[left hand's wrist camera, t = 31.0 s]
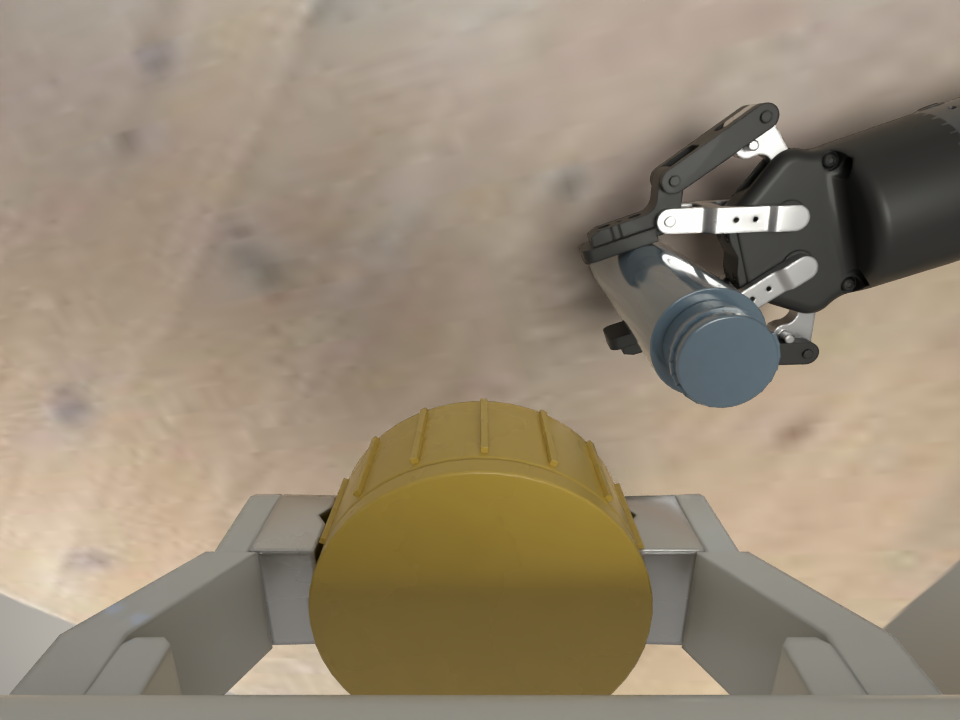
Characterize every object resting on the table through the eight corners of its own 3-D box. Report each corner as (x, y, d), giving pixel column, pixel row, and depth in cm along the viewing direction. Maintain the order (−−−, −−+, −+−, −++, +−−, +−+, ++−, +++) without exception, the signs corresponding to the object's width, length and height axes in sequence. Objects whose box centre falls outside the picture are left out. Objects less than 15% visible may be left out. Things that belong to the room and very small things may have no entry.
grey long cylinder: (605, 301, 39) (691, 438, 21) (577, 243, 37) (643, 338, 20) (666, 271, 38) (809, 387, 20) (640, 211, 36) (768, 279, 19)
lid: (577, 652, 12) (598, 765, 10) (322, 610, 11) (286, 716, 9) (659, 429, 10) (707, 508, 8) (361, 369, 10) (328, 435, 7)
